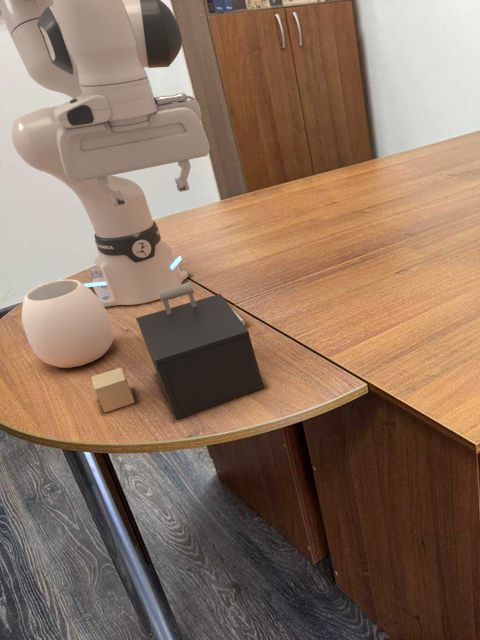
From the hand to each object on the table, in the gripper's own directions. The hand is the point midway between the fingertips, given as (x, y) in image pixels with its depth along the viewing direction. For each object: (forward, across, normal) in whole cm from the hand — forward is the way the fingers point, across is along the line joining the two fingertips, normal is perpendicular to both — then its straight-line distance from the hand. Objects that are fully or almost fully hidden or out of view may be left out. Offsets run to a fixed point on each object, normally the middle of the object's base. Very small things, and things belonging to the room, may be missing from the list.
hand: (152, 197), depth 100 cm
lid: (+19, +1, +8) cm, 21 cm away
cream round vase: (+29, +18, -16) cm, 38 cm away
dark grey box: (+29, +1, +8) cm, 30 cm away
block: (+29, +15, +4) cm, 33 cm away
